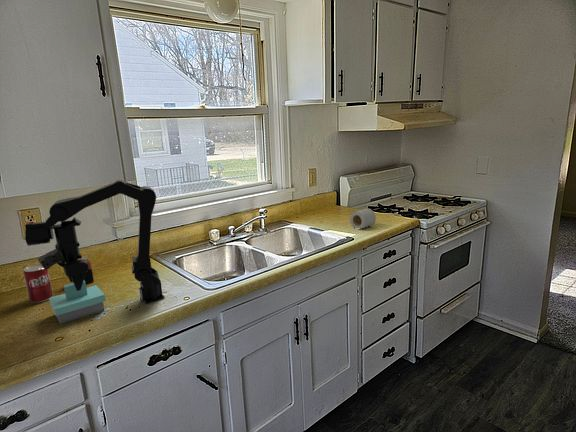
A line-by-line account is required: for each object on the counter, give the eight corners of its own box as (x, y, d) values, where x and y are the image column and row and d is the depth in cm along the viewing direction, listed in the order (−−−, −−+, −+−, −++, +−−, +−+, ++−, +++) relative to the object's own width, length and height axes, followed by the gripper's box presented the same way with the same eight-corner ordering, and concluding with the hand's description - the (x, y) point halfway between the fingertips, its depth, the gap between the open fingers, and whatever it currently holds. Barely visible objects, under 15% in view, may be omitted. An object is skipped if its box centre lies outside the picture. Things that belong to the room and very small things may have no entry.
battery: (94, 282, 152) (90, 258, 149) (75, 287, 148) (70, 262, 145) (91, 279, 155) (87, 255, 153) (73, 283, 151) (68, 259, 149)
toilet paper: (364, 231, 207) (364, 213, 205) (349, 227, 214) (349, 210, 212) (375, 227, 214) (375, 209, 211) (361, 224, 221) (361, 207, 218)
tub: (97, 301, 134) (95, 288, 133) (104, 310, 128) (102, 296, 127) (54, 314, 126) (52, 300, 125) (60, 324, 120) (57, 309, 119)
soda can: (25, 300, 137) (18, 269, 135) (47, 293, 143) (41, 262, 140) (35, 305, 133) (28, 273, 131) (57, 297, 139) (50, 266, 136)
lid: (97, 291, 135) (94, 273, 133) (105, 301, 127) (102, 281, 125) (50, 304, 126) (46, 285, 124) (56, 315, 118) (52, 295, 116)
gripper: (32, 239, 123) (42, 284, 127) (41, 253, 109) (52, 303, 113) (71, 232, 130) (79, 275, 134) (84, 244, 116) (93, 292, 120)
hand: (75, 286), depth 125 cm, fingers open, 9 cm apart
